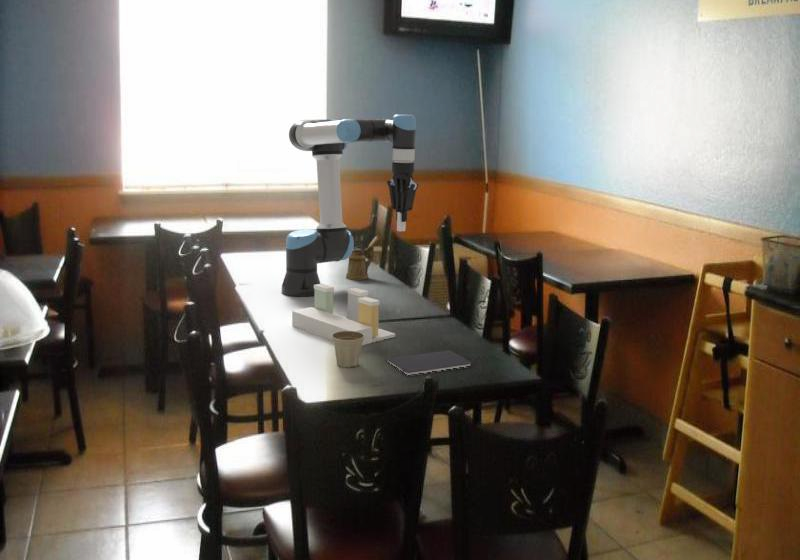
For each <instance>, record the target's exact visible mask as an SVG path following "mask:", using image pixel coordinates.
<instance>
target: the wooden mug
mask: <svg viewBox="0 0 800 560" xmlns="http://www.w3.org/2000/svg"><path fill="white" fill-rule="evenodd" d="M379 239H380V235H379V234H378V235H375V236H374V238H373V239H372V240H371V241H370V243H369V245H368V247H367V248H363V250H361V249H353V251H352V253H351V255H350V256H349V257H348V263H347V264H348V266H347V272H346V275H345V278H346V279H348V280H350V281H351V280H353V281H363V280H366V279H368V278H369V273H368V270H369V267H370V266H371V264H372V262H373V260H374V253H373V250H372V248H373V247H375V246H374V245H376V243H377V242H378V241H379ZM367 256H368V257H367ZM367 258H368V260H366V259H367Z"/></svg>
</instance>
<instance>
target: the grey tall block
mask: <svg viewBox="0 0 800 560" xmlns="http://www.w3.org/2000/svg"><path fill="white" fill-rule="evenodd" d="M346 293H347V318H348V319H349V320H352V321H355V322H358V314H359V302H358V298H361V297H368V295H369V291H368V290H365V289H361V288H357V287H351V288H347V289H346Z"/></svg>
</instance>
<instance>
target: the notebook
mask: <svg viewBox="0 0 800 560" xmlns="http://www.w3.org/2000/svg"><path fill="white" fill-rule="evenodd" d="M388 362H389V363H390V364H389V363H388ZM386 363H388V364H389V365H391V364H392V365H393V367H394V366H395V367H397V368H398V369H399V370H398V369H397V368H396V369H397V370H398V371H400V370H401V371H402V372H403V373H402V372H401V371H400V372H401V373H402V374H404V373H405V374H407V375H406V376H408V375H411V374H417V375H419V374H418V373H424V374H428V373H427V372H431V373H433V372H432V371H437V372H442V371H441V370H444V371H447V370H446V369H451V370H454V369H453V368H457V369H460V368H459V367H464V368H467V367H466V366H470V365H471V364H472V361H470V360H468V359H466V358H464V357H463V356H461V355H459V354H458V353H456V352H454V351H452V350H440V351H435V352H426V353H420V354H412V355H405V356H398V357H389V358H387V359H386ZM392 365H391V366H392ZM471 366H472V365H471ZM471 366H470V367H471ZM395 367H394V368H395ZM405 374H404V375H405ZM411 376H412V375H411Z"/></svg>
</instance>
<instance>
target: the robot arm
mask: <svg viewBox="0 0 800 560" xmlns="http://www.w3.org/2000/svg"><path fill="white" fill-rule="evenodd" d="M416 124H417V123H416V116H415V115H413V114H399V113H398V114H394V115H393V118H392V119H387V118H376V119H375V118H374V119H373V118H372V119H371V118H368V119H366V118H364V119H363V118H361V119H360V118H359V119H358V118H346V119H345V118H344V119H341V120H337V119H329V118H328V119H301V120H298V121H296V122H294V123H293V124H292V125H291V127H290V129H289V132H288V138H289V141H290V143H291V144H292V146H293V147H294V148H296V149H298V150H301V151H302V152H303V151H304V152H311V153H312V154H311V155H312V156H311V157H312V158H313V159H315V162H316V174H317V189H318V190H317V192H318V207H319V208H318V209H319V210H318V211H319V224H318V225H317V226H316V229H312V228H311V229H310V228H308V229H307V228H306V229H298V230H294V231H292V232H290V233H288V234H287V236H286V240H285V241H286V243H285V252H286V253H285V256H286V257H285V263H286V265H285V269H286V271H285V275H284V278H283V282H282V284H281V293H282V294H283V295H286V296H290V297H291V296H292V297H311V296H315V289H314V285H316V284H322V283H321V280H320V277H319V274H318V264H323V263H331V262H340V261H345V260H347V259H349V256H350V255H351V253H352V251H353V250H354V246H355V245H354V243H355V242H354V237H353V234H352V233H351V231H350V230H348V228H347V225H346V224H345V223H344V221H343V209H342V208H343V207H342V189H341V173H340V172H341V171H340V170H341V169H340V158H342V156H343V153H344V150H345V149H347V147H348V143H366V142H367V143H376V142H377V143H378V142H379V143H380V142H385V143H392V149H391V150H392V153H391V154H392V155H391V156H392V157H391V160H392V162H391V173H393V174H392V178H391V179H390V180H387V181H386V183H387V186H388V188H389V195H390V197H389V198H390V205H391V209H392V210H395V212H396V214H395V220H396V231H397V232H406V227H407V226H406V225H407V224H406V223H407V221H408V212H412V210H413V208H414V207H413V206H414V202H415V198H416V197H415V196H416V192H417V190H418V188H419V183H415V181H414V176H413V174H414V173H415V163H414V161H415V152H416V151H415V150H416V132H417V131H416V130H417V125H416Z"/></svg>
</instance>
